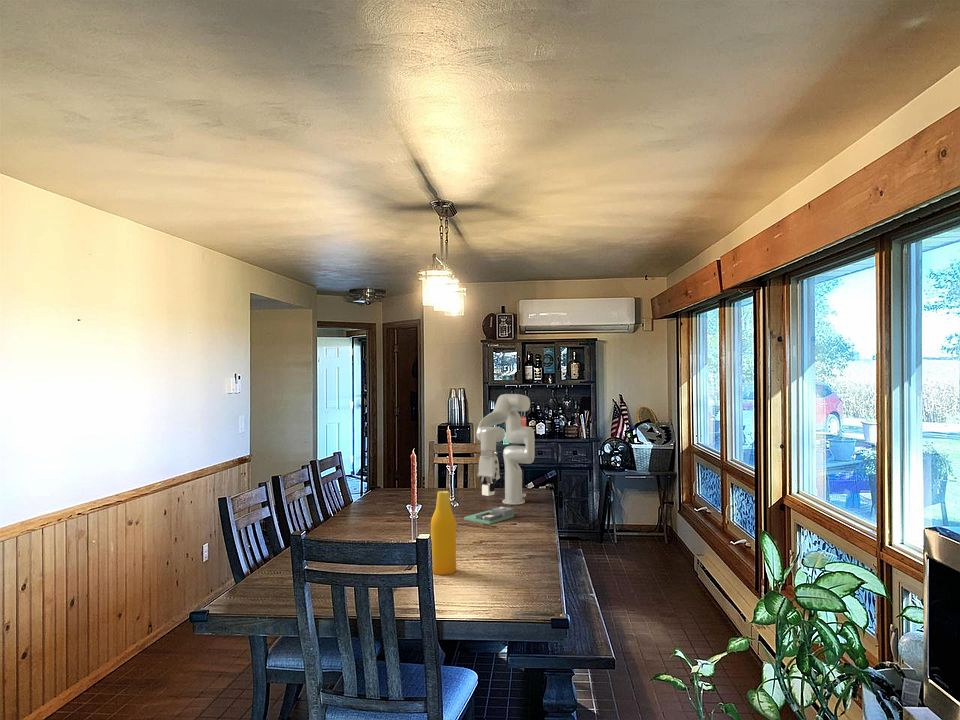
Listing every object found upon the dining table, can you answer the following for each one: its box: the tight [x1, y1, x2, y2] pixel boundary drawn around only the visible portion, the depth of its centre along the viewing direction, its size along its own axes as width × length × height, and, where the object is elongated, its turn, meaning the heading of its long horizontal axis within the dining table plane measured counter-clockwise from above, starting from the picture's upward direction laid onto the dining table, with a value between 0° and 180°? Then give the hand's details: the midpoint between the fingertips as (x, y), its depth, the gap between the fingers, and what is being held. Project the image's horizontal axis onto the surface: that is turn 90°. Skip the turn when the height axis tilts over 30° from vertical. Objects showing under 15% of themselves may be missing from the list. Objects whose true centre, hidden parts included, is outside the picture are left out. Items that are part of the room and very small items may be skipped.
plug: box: [481, 482, 496, 497], centre depth 314 cm, size 5×4×5 cm
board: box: [463, 509, 515, 525], centre depth 319 cm, size 20×16×1 cm
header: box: [476, 512, 502, 521], centre depth 314 cm, size 10×9×2 cm
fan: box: [491, 506, 515, 517], centre depth 321 cm, size 8×8×4 cm
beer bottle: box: [430, 490, 457, 576], centre depth 234 cm, size 9×9×29 cm
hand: (488, 490), depth 315 cm, fingers closed on plug, 4 cm apart
